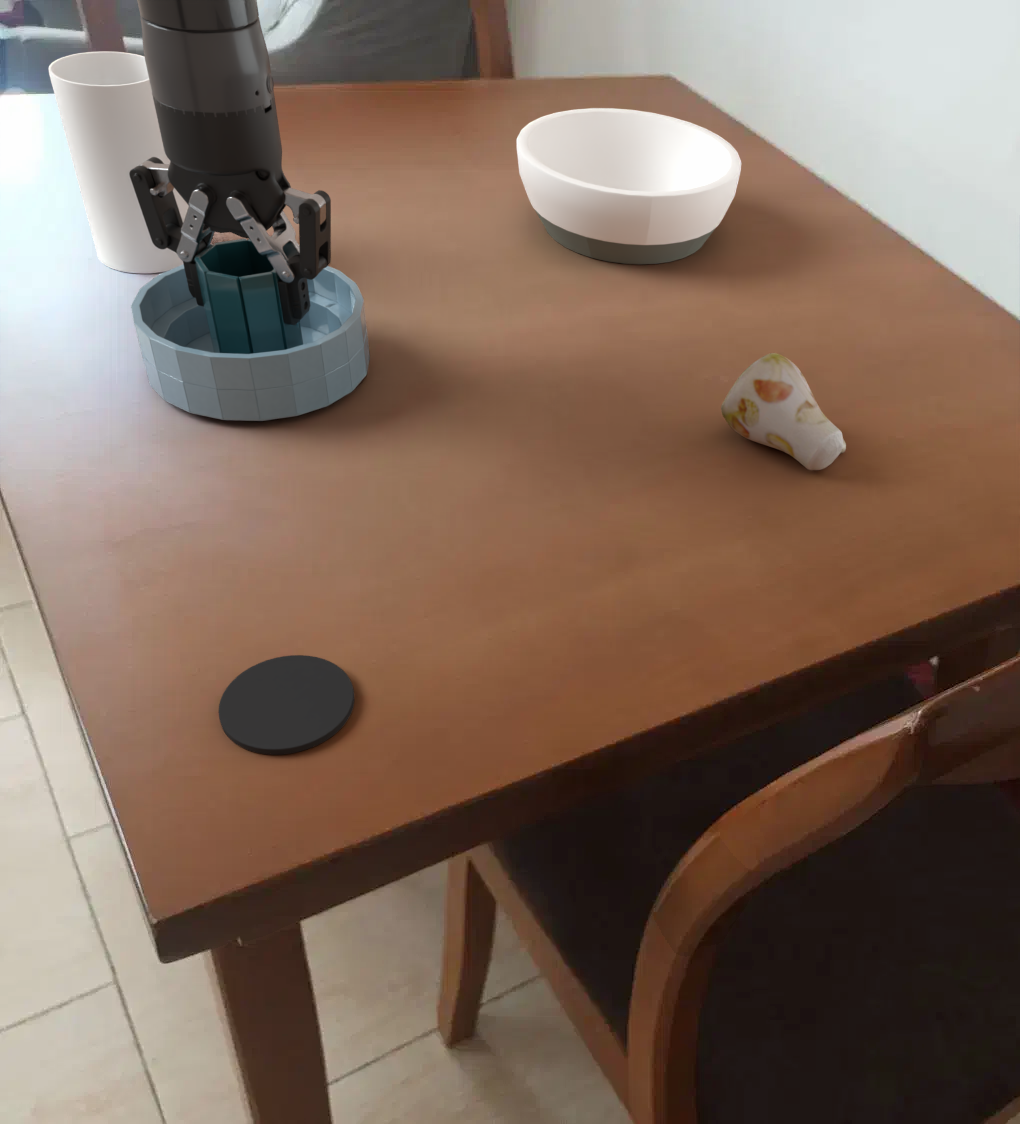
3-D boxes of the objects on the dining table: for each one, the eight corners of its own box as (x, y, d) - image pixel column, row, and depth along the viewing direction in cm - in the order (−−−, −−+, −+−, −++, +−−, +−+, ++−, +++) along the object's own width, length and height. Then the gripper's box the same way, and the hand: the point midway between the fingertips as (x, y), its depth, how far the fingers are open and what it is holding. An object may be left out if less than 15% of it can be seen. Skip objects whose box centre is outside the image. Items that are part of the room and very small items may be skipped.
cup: (208, 266, 100) (172, 82, 90) (106, 279, 96) (56, 89, 86) (188, 227, 105) (151, 49, 95) (90, 238, 101) (40, 53, 91)
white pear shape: (815, 500, 86) (768, 387, 81) (737, 484, 93) (690, 380, 88) (877, 448, 89) (836, 336, 84) (798, 437, 97) (755, 333, 92)
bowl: (705, 184, 128) (713, 111, 123) (756, 277, 112) (767, 197, 107) (506, 180, 122) (505, 102, 117) (529, 278, 106) (529, 193, 101)
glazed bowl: (104, 402, 83) (83, 330, 79) (218, 304, 96) (205, 238, 92) (313, 445, 83) (302, 375, 79) (401, 341, 95) (396, 276, 91)
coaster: (194, 739, 62) (192, 733, 61) (259, 649, 67) (258, 643, 67) (320, 767, 61) (319, 761, 61) (375, 674, 67) (374, 669, 66)
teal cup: (203, 375, 86) (179, 267, 81) (244, 337, 91) (224, 233, 85) (280, 390, 86) (262, 284, 80) (317, 352, 91) (302, 248, 85)
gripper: (76, 84, 72) (134, 315, 83) (289, 126, 72) (320, 353, 83) (143, 52, 78) (189, 272, 89) (341, 90, 77) (363, 307, 88)
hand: (252, 310), depth 86 cm, fingers closed on teal cup, 6 cm apart
